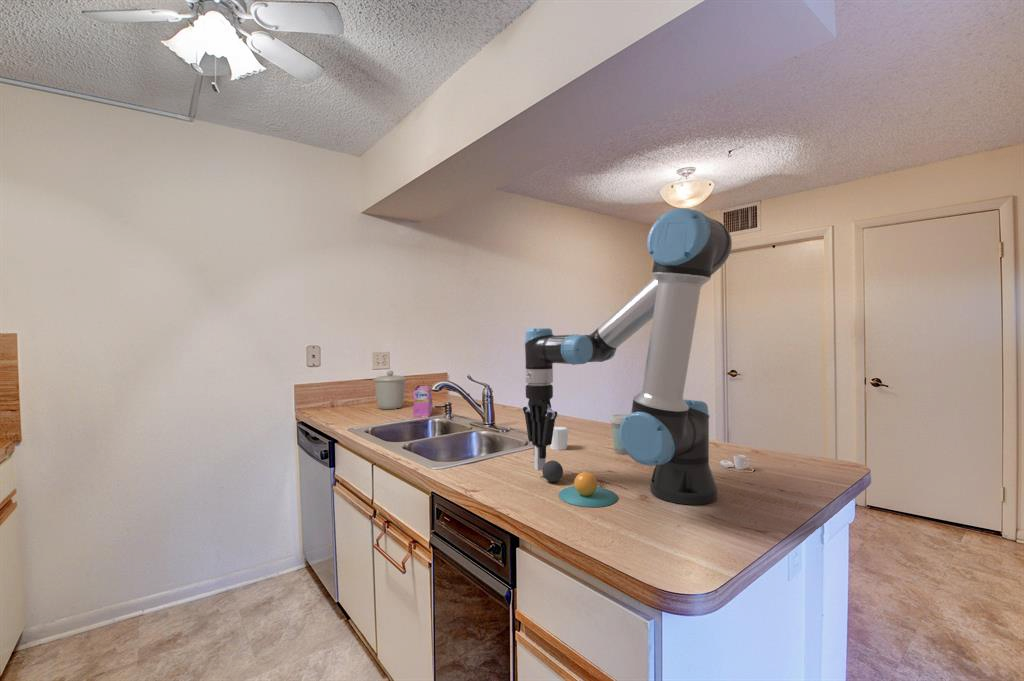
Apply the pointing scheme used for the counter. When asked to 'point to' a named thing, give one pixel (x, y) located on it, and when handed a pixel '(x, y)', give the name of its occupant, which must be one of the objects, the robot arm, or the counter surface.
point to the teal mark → (588, 497)
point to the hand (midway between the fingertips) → (540, 469)
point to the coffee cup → (616, 425)
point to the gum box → (422, 401)
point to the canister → (390, 390)
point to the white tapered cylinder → (559, 438)
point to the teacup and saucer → (736, 462)
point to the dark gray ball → (552, 471)
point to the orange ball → (585, 484)
